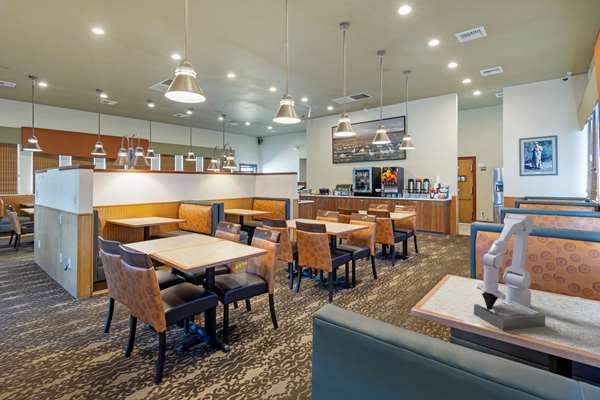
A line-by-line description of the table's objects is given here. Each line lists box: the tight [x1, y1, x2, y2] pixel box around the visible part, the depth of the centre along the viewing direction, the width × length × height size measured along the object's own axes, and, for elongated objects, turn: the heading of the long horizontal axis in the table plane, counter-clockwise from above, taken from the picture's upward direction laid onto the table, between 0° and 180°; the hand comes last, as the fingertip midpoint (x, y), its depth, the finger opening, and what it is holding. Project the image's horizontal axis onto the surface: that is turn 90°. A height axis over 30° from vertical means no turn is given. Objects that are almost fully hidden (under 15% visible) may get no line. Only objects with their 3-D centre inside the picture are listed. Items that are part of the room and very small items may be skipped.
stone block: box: [492, 303, 528, 317], centre depth 136 cm, size 12×5×10 cm
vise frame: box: [473, 303, 546, 331], centre depth 132 cm, size 20×16×4 cm
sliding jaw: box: [509, 301, 540, 315], centre depth 135 cm, size 2×13×4 cm, turn 11°
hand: (489, 309), depth 140 cm, fingers closed
